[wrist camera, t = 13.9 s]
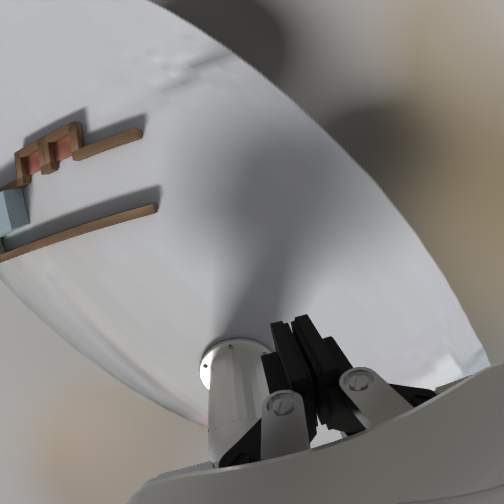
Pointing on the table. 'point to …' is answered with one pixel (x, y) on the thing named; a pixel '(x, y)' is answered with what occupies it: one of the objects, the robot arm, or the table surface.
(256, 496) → the robot arm
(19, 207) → the slate block
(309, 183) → the table surface
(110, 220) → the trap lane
